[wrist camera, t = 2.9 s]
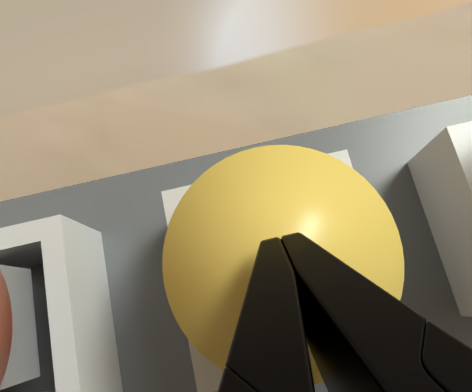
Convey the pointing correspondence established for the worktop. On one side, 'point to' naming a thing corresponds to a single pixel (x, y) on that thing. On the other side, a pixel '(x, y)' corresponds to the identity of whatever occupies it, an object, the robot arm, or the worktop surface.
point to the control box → (154, 231)
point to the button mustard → (269, 234)
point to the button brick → (17, 327)
